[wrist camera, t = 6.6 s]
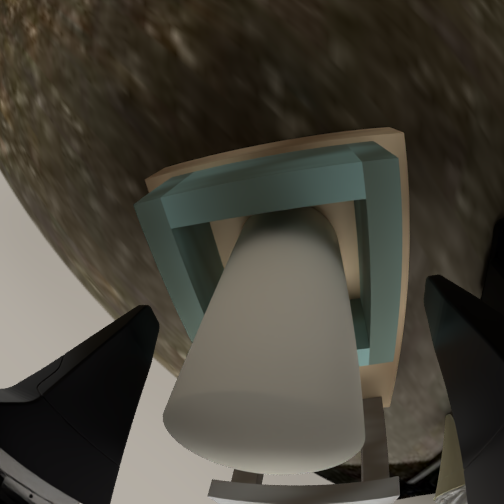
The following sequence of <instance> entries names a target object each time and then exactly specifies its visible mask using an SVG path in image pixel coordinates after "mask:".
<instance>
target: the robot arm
mask: <svg viewBox="0 0 504 504" xmlns="http://www.w3.org/2000/svg"><path fill="white" fill-rule="evenodd" d="M503 228H504V219H500V220H499V221H498V222H497V224H496V226H495V231H494V238H493V245H492V252H491V258H490V263H489V267H488V272H487V277H486V282H485V286H484V291H483V295H482V300H480V299H479V298H477V297H476V296H474V295H472V294H471V293H469V292H468V291H466V290H464V289H463V288H461V287H459V286H458V285H456V284H454V283H453V282H451V281H449V280H448V279H446V278H444V277H443V276H441V275H432V276H428V277H427V279H426V284H425V293H424V307H425V311H426V315H427V319H428V323H429V327H430V332H431V336H432V341H433V345H434V349H435V353H436V356H437V359H438V362H439V365H440V369H441V372H442V375H443V379H444V382H445V386H446V389H447V393H448V397H449V401H450V405H451V409H452V413H453V417H454V422H455V426H456V431H457V436H458V441H459V446H460V451H461V457H462V463H463V469H465V470H464V478H465V486H466V496H467V504H504V230H503V231H502V229H503ZM158 333H159V322H158V320H157V318H156V316H155V314H154V312H153V310H152V308H151V307H150V306H149V305H139V306H137V307H135V308H134V309H132V310H131V311H129V312H127V313H126V314H124V315H123V316H121V317H120V318H118V319H117V320H115V321H114V322H112V323H111V324H109V325H108V326H106V327H105V328H103V329H102V330H100V331H99V332H97V333H96V334H94V335H93V336H91V337H90V338H88V339H87V340H85V341H84V342H82V343H81V344H79V345H78V346H76V347H75V348H73V349H72V350H70V351H69V352H67V353H66V354H65V355H63V356H61V357H60V358H58V359H57V360H55V361H54V362H52V363H50V364H49V365H47V366H46V367H44V368H43V369H41V370H40V371H38V372H36V373H35V374H33V375H31V376H29V377H28V378H26V379H24V380H23V381H21V382H19V383H18V384H16V385H14V386H12V387H9V388H5V389H0V504H79V503H82V504H110V502H111V498H112V494H113V490H114V486H115V482H116V479H117V475H118V471H119V468H120V463H121V460H122V456H123V453H124V449H125V446H126V442H127V439H128V435H129V432H130V429H131V425H132V422H133V419H134V415H135V412H136V409H137V406H138V403H139V400H140V397H141V393H142V390H143V387H144V384H145V381H146V378H147V375H148V372H149V369H150V366H151V362H152V358H153V354H154V350H155V345H156V341H157V337H158Z"/></svg>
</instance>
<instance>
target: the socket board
mask: <svg viewBox="0 0 504 504" xmlns="http://www.w3.org/2000/svg"><path fill="white" fill-rule="evenodd" d="M145 182H146V185H147V188H148V191H149V193H148V194H147V195H146V196H144V197H143V198H142V199H140V200H139V201H138V202H136V203H135V204H134V208H135V211H136V214H137V216H138V219H139V222H140V224H141V227H142V230H143V232H144V235H145V237H146V240H147V242H148V245H149V247H150V250H151V252H152V255H153V257H154V260H155V262H156V265H157V267H158V269H159V272H160V274H161V276H162V279H163V281H164V283H165V286H166V288H167V290H168V293H169V295H170V297H171V299H172V302H173V304H174V306H175V308H176V310H177V312H178V315H179V317H180V319H181V321H182V323H183V325H184V327H185V329H186V332H187V334H188V336H189V338H190V340H191V342H192V343H193V340H194V338H195V336H196V333H197V331H198V329H199V326H200V324H201V322H202V319H203V317H204V315H205V312H206V310H207V308H208V305H209V303H210V301H211V298H212V296H213V294H214V292H215V289H216V287H217V285H218V282H219V280H220V278H221V275H222V273H223V271H224V269H225V266H226V264H227V262H228V259H229V257H230V255H231V253H232V250H233V248H234V246H235V244H236V241H237V239H238V237H239V235H240V232H241V230H242V228H243V226H244V224H245V223H246V221H247V220H248V219H249V218H250V217H251V216H252V215H254V214H261V213H267V212H274V211H280V210H287V209H294V208H301V207H308V206H309V207H312V208H314V209H315V210H317V211H319V212H320V213H321V214H322V215H324V216H325V217H326V218H327V219H328V220H329V222H330V223H331V225H332V226H333V228H334V230H335V232H336V235H337V238H338V242H339V247H340V252H341V257H342V262H343V267H344V272H345V277H346V283H347V289H348V294H349V300H350V306H351V312H352V319H353V325H354V332H355V339H356V347H357V354H358V362H359V371H360V380H361V390H362V400H363V412H364V426H365V442H364V445H363V447H362V448H361V471H362V482H356V483H346V484H332V485H305V486H287V485H262V480H263V474H259V473H252V472H246V471H241V470H237V469H234V472H233V476H232V480H231V482H228V481H219V480H212V482H211V486H210V489H209V493H208V497H209V498H211V499H212V500H214V501H215V502H217V503H218V504H393V502H394V501H395V500H396V499H397V498H398V497H399V496H400V489H399V476H398V477H392V478H389V464H388V450H387V439H386V428H385V419H384V411H383V408H384V407H390V403H391V398H392V394H393V389H394V384H395V379H396V374H397V368H398V362H399V356H400V350H401V343H402V336H403V328H404V320H405V311H406V300H407V288H408V272H409V245H410V211H409V185H408V169H407V157H406V146H405V137H404V133H403V132H401V131H398V130H396V129H393V128H390V127H382V128H371V129H361V130H352V131H344V132H336V133H328V134H321V135H314V136H308V137H301V138H295V139H289V140H283V141H278V142H272V143H267V144H262V145H257V146H252V147H247V148H242V149H237V150H233V151H228V152H224V153H220V154H215V155H211V156H207V157H203V158H199V159H195V160H191V161H187V162H183V163H180V164H176V165H172V166H169V167H165V168H163V169H162V170H160V171H158V172H156V173H155V174H153V175H152V176H150V177H148V178H147V179H145Z"/></svg>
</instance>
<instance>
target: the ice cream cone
mask: <svg viewBox="0 0 504 504" xmlns="http://www.w3.org/2000/svg"><path fill="white" fill-rule="evenodd" d="M464 470H465V469H463V463H462V457H461V451H460V446H459V441H458V436H457V431H456V426H455V422H454V419H453V417H452V416H451V414H448V415H446V419H445V432H444V443H443V451H442V459H441V466H440V472H439V478H438V485H437V490H436V495H435V498H434V499H433V500H434V501H435V502H436V504H467V496H466V486H465V478H464Z"/></svg>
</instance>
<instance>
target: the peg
mask: <svg viewBox="0 0 504 504" xmlns="http://www.w3.org/2000/svg"><path fill="white" fill-rule="evenodd" d="M163 422H164V425H165V427H166V429H167V431H168V432H169V433H170V434H171V436H172V437H173V438H174V439H175V440H176V441H177V442H178V443H180V444H181V445H182V446H184V447H185V448H187V449H188V450H190V451H191V452H193V453H195V454H197V455H198V456H201V457H202V458H205V459H207V460H209V461H212V462H214V463H217V464H220V465H223V466H226V467H229V468H233V469H237V470H241V471H246V472H252V473H259V474H271V475H292V474H303V473H311V472H317V471H321V470H325V469H328V468H331V467H334V466H337V465H339V464H342V463H344V462H345V461H347V460H349V459H351V458H352V457H353V456H355V455H356V454H357V453H358V452H359V451H360V450H361V448H362V447H363V445H364V442H365V426H364V412H363V400H362V390H361V380H360V371H359V362H358V354H357V347H356V339H355V332H354V325H353V319H352V312H351V306H350V300H349V294H348V289H347V283H346V277H345V272H344V267H343V262H342V257H341V252H340V247H339V242H338V238H337V235H336V232H335V230H334V228H333V226H332V225H331V223H330V222H329V220H328V219H327V218H326V217H325V216H324V215H322V214H321V213H320V212H319V211H317V210H315V209H314V208H312V207H309V206H308V207H301V208H294V209H287V210H280V211H274V212H267V213H261V214H254V215H252V216H251V217H250V218H249V219H248V220H247V221H246V223H245V224H244V226H243V228H242V230H241V232H240V235H239V237H238V239H237V241H236V244H235V246H234V248H233V250H232V253H231V255H230V257H229V259H228V262H227V264H226V266H225V269H224V271H223V273H222V275H221V278H220V280H219V282H218V285H217V287H216V289H215V292H214V294H213V296H212V298H211V301H210V303H209V305H208V308H207V310H206V312H205V315H204V317H203V319H202V322H201V324H200V326H199V329H198V331H197V333H196V336H195V338H194V340H193V343H192V345H191V348H190V350H189V352H188V355H187V357H186V359H185V362H184V364H183V367H182V369H181V371H180V374H179V376H178V379H177V381H176V383H175V386H174V388H173V391H172V393H171V396H170V398H169V400H168V403H167V405H166V408H165V410H164V413H163Z"/></svg>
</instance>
